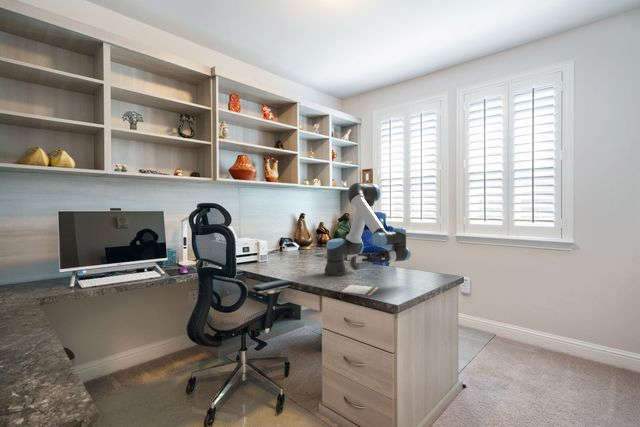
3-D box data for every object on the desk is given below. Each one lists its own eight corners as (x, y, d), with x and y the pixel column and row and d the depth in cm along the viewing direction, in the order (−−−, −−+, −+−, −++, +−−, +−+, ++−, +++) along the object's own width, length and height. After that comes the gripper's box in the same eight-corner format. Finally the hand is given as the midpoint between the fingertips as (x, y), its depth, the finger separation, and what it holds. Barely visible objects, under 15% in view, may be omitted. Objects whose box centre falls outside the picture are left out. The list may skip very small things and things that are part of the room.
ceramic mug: (369, 269, 179) (369, 255, 179) (359, 271, 174) (359, 256, 174) (355, 266, 187) (355, 253, 187) (345, 268, 182) (345, 254, 182)
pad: (350, 285, 190) (350, 284, 190) (372, 287, 184) (372, 286, 184) (341, 292, 176) (341, 291, 176) (364, 294, 171) (364, 293, 171)
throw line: (376, 287, 184) (376, 287, 184) (378, 288, 184) (378, 287, 184) (367, 295, 169) (367, 294, 169) (370, 295, 168) (370, 295, 168)
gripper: (398, 265, 177) (362, 269, 168) (375, 259, 196) (342, 262, 187) (398, 251, 177) (362, 254, 167) (375, 247, 196) (342, 249, 186)
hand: (351, 259), depth 177 cm, fingers closed on ceramic mug, 8 cm apart
